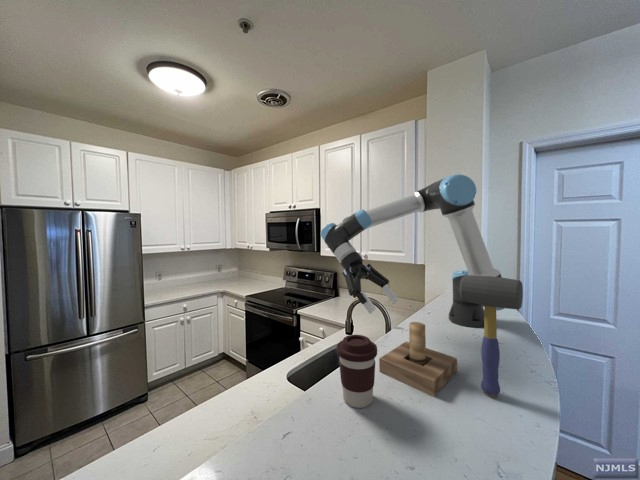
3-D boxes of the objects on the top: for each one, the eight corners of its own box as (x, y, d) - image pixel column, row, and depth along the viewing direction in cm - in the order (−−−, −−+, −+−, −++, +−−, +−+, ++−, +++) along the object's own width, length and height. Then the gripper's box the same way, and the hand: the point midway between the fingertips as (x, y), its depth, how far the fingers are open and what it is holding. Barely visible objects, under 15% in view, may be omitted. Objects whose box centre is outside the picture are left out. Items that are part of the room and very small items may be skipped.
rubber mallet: (524, 398, 61) (524, 276, 60) (519, 414, 56) (520, 281, 55) (467, 377, 70) (466, 271, 69) (458, 390, 65) (457, 275, 64)
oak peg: (414, 365, 77) (413, 320, 77) (429, 371, 74) (428, 324, 73) (406, 371, 74) (405, 324, 73) (421, 377, 70) (421, 329, 70)
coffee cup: (364, 382, 69) (363, 329, 68) (386, 406, 60) (385, 344, 59) (331, 392, 65) (330, 335, 65) (349, 418, 56) (348, 352, 56)
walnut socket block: (406, 352, 85) (406, 341, 85) (457, 371, 73) (457, 358, 73) (379, 371, 74) (379, 358, 74) (434, 396, 62) (433, 381, 62)
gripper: (363, 261, 102) (397, 304, 92) (319, 268, 85) (354, 322, 75) (374, 248, 98) (411, 292, 87) (329, 253, 81) (368, 308, 70)
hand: (385, 306), depth 81 cm, fingers open, 13 cm apart
